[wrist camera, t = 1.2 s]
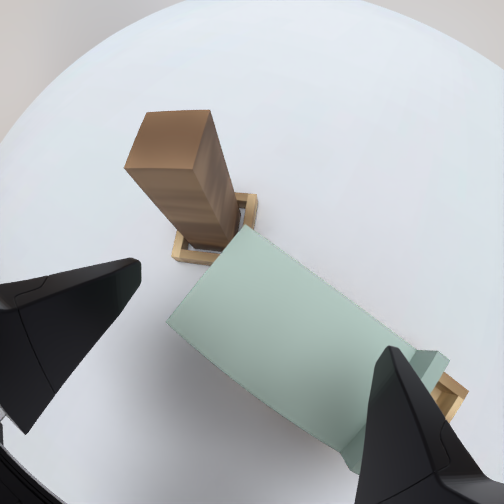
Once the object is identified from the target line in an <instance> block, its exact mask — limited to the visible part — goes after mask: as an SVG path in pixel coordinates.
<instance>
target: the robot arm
mask: <svg viewBox="0 0 504 504" xmlns="http://www.w3.org/2000/svg"><path fill="white" fill-rule="evenodd" d="M140 284H141V262H140V261H139V260H136V259H134V258H126V259H121V260H116V261H111V262H107V263H102V264H97V265H93V266H88V267H84V268H79V269H74V270H70V271H65V272H61V273H56V274H52V275H49V276H43V277H38V278H34V279H29V280H23V281H17V282H11V283H5V284H0V504H67V503H65V502H64V501H63V500H61V499H60V498H59V497H58V496H56V495H55V494H54V493H53V492H51V491H50V490H49V489H48V488H46V487H45V486H44V485H43V484H42V483H41V482H40V481H38V480H37V479H36V478H35V477H34V476H33V475H32V474H31V473H30V472H28V471H27V470H26V469H25V468H24V467H23V466H22V465H21V464H20V463H19V462H18V461H17V460H16V459H15V458H14V457H13V456H12V455H11V454H10V453H9V452H8V451H7V449H6V448H5V447H4V446H3V425H2V424H1V421H2V420H3V418H4V417H5V416H7V417H8V418H9V419H10V420H11V421H12V422H13V423H14V424H15V425H16V426H17V427H18V428H19V429H20V430H21V431H22V432H23V433H24V434H25V435H26V434H27V433H28V432H29V431H30V429H31V428H32V426H33V425H34V423H35V422H36V421H37V419H38V418H39V416H40V415H41V414H42V412H43V411H44V410H45V408H46V407H47V406H48V404H49V403H50V401H51V400H52V399H53V397H54V396H55V394H56V393H57V392H58V391H59V389H60V388H61V387H62V385H63V384H64V383H65V381H66V380H67V379H68V378H69V376H70V375H71V374H72V372H73V371H74V370H75V369H76V367H77V366H78V365H79V363H80V362H81V361H82V360H83V358H84V357H85V356H86V355H87V353H88V352H89V351H90V350H91V349H92V347H93V346H94V345H95V344H96V342H97V341H98V340H99V339H100V338H101V336H102V335H103V334H104V333H105V332H106V330H107V329H108V328H109V327H110V326H111V324H112V323H113V322H114V321H115V320H116V318H117V317H118V316H119V315H120V313H121V312H122V311H123V309H124V308H125V306H126V305H127V303H128V302H129V300H130V299H131V297H132V296H133V294H134V293H135V292H136V290H137V289H138V287H139V286H140ZM445 419H446V418H445V416H444V415H443V413H442V411H441V410H440V408H439V407H438V405H437V404H436V402H435V400H434V399H433V397H432V396H431V394H430V393H429V391H428V390H427V388H426V387H425V385H424V384H423V382H422V381H421V379H420V378H419V376H418V375H417V373H416V372H415V370H414V369H413V367H412V366H411V365H410V363H409V362H408V360H407V359H406V357H405V356H404V355H403V353H402V352H401V350H400V349H399V348H398V347H394V346H391V345H388V346H387V347H386V348H385V349H384V351H383V352H382V354H381V355H380V357H379V358H378V360H377V361H376V364H375V367H374V373H373V379H372V385H371V390H370V396H369V401H368V408H367V419H366V430H365V439H364V447H363V455H362V462H361V469H360V475H359V481H358V487H357V492H356V498H355V503H354V504H504V484H503V483H500V482H496V481H493V480H491V479H490V478H488V477H487V476H486V475H485V474H484V473H483V472H482V471H481V469H480V468H479V467H478V465H477V464H476V462H475V461H474V459H473V458H472V457H471V455H470V454H469V452H468V451H467V450H466V448H465V447H464V445H463V444H462V443H461V441H460V440H459V438H458V437H457V435H456V434H455V432H454V430H453V429H452V427H451V426H450V424H449V422H448V421H447V420H445Z"/></svg>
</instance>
